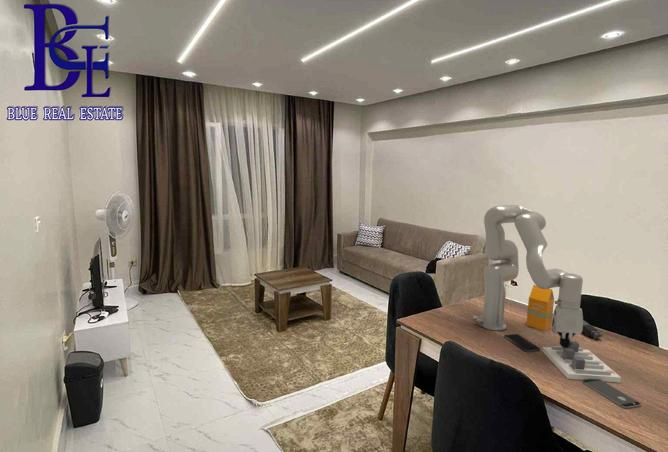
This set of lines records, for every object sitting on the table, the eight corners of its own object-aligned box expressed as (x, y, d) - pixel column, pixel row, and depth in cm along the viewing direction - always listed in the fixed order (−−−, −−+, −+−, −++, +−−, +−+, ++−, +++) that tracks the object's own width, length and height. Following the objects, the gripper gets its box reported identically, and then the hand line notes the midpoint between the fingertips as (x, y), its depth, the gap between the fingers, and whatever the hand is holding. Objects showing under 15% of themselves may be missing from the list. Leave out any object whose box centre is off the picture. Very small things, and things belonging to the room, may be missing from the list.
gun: (565, 320, 187) (572, 305, 182) (595, 350, 169) (604, 334, 165) (557, 321, 186) (564, 306, 181) (587, 350, 169) (595, 335, 164)
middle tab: (565, 361, 142) (566, 350, 142) (562, 358, 145) (563, 347, 144) (573, 361, 142) (575, 351, 141) (570, 358, 144) (571, 348, 144)
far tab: (570, 353, 149) (571, 343, 148) (566, 350, 151) (567, 340, 150) (577, 354, 148) (579, 343, 148) (574, 351, 151) (575, 341, 150)
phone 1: (525, 350, 154) (503, 334, 168) (525, 353, 154) (502, 337, 168) (541, 349, 155) (518, 333, 170) (541, 351, 155) (517, 336, 170)
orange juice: (544, 331, 175) (549, 291, 172) (526, 325, 181) (529, 286, 178) (551, 326, 179) (555, 288, 177) (532, 321, 186) (536, 283, 183)
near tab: (575, 371, 135) (576, 360, 135) (571, 367, 138) (572, 356, 137) (583, 371, 135) (585, 360, 134) (580, 367, 138) (581, 357, 137)
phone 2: (580, 382, 132) (624, 410, 117) (580, 380, 132) (624, 407, 117) (597, 380, 134) (642, 407, 119) (597, 377, 134) (642, 404, 119)
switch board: (567, 378, 134) (568, 370, 133) (542, 351, 155) (543, 344, 154) (620, 382, 132) (621, 374, 131) (587, 354, 153) (588, 347, 152)
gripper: (553, 306, 144) (549, 349, 147) (594, 308, 142) (588, 352, 145) (545, 300, 152) (540, 341, 154) (583, 301, 150) (578, 343, 152)
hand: (564, 346), depth 150 cm, fingers closed
